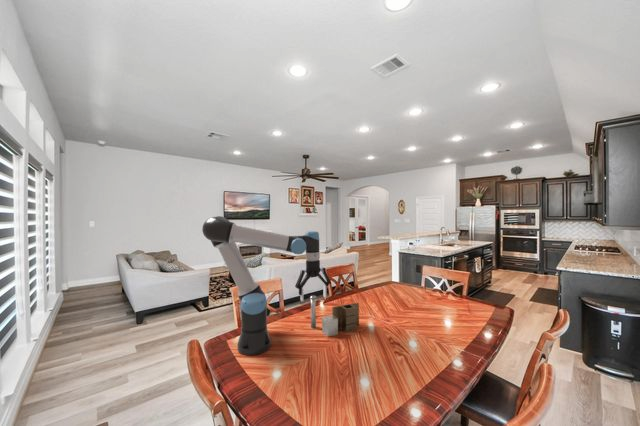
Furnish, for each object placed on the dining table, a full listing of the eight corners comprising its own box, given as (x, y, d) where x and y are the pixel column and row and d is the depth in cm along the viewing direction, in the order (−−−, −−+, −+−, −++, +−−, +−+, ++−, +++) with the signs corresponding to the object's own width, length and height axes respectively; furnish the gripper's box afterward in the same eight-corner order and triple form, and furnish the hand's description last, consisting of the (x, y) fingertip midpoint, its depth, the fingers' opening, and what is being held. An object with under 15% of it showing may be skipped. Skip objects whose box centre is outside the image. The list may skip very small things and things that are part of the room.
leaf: (327, 336, 133) (327, 312, 133) (322, 331, 138) (321, 308, 139) (356, 330, 140) (356, 307, 140) (350, 325, 146) (350, 303, 146)
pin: (311, 329, 142) (311, 297, 142) (309, 326, 145) (309, 296, 145) (317, 328, 143) (317, 296, 143) (315, 325, 146) (314, 295, 146)
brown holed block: (346, 332, 137) (346, 309, 137) (340, 327, 143) (340, 305, 143) (364, 328, 142) (364, 306, 142) (358, 324, 148) (357, 302, 148)
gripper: (293, 263, 136) (294, 304, 136) (336, 258, 146) (337, 297, 146) (288, 261, 142) (289, 300, 142) (330, 256, 153) (331, 293, 153)
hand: (313, 298), depth 144 cm, fingers open, 13 cm apart
